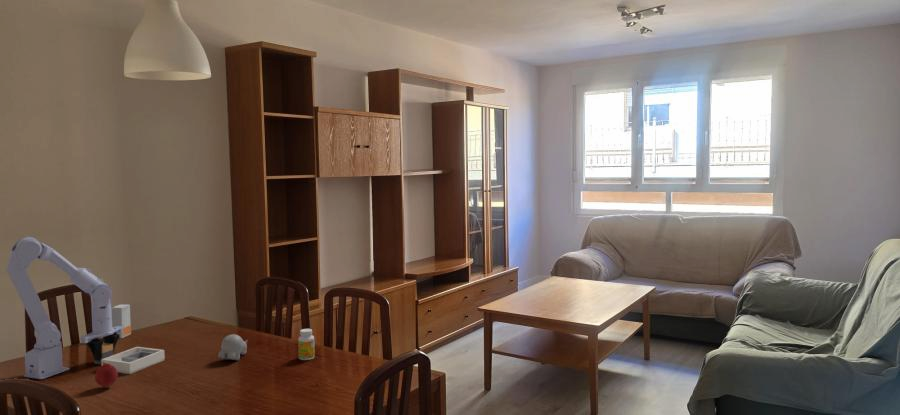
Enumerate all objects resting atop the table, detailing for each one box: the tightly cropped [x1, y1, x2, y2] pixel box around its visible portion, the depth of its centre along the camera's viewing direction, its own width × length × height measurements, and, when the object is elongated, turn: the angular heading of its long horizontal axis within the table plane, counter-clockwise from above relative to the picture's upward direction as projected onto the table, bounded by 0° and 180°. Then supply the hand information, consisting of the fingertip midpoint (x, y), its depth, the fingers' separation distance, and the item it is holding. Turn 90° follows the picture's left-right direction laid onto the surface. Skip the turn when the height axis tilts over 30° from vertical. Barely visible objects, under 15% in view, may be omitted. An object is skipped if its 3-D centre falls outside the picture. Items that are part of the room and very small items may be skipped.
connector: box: [93, 342, 114, 366], centre depth 196 cm, size 4×4×6 cm
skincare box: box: [111, 303, 132, 339], centre depth 226 cm, size 6×4×12 cm
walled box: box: [100, 346, 166, 375], centre depth 193 cm, size 14×12×4 cm
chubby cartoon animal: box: [217, 333, 248, 361], centre depth 200 cm, size 7×12×8 cm, turn 162°
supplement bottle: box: [297, 328, 316, 361], centre depth 199 cm, size 5×5×10 cm
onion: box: [94, 362, 119, 389], centre depth 173 cm, size 6×6×8 cm
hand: (103, 358), depth 196 cm, fingers closed on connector, 4 cm apart
